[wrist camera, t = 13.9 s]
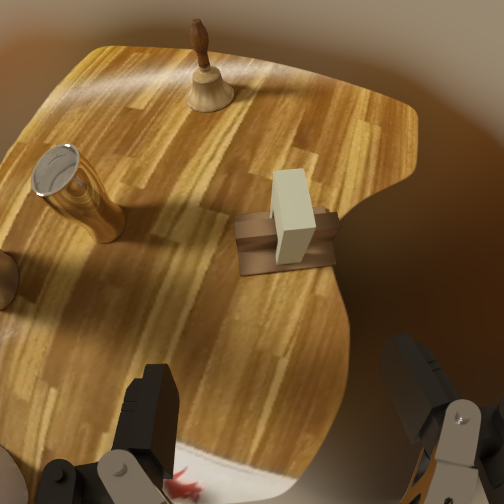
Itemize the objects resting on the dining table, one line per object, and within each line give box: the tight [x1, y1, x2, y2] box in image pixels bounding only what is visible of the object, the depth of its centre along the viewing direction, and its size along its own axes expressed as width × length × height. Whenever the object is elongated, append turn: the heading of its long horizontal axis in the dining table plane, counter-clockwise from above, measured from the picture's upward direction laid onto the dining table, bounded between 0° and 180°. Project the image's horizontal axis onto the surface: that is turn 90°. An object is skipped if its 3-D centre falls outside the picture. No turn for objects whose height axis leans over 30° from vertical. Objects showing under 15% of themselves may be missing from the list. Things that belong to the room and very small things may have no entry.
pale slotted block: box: [270, 168, 316, 265], centre depth 35 cm, size 6×3×11 cm, turn 7°
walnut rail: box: [234, 206, 340, 276], centre depth 38 cm, size 12×8×5 cm, turn 96°
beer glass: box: [31, 143, 126, 243], centre depth 35 cm, size 7×7×15 cm
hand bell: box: [186, 19, 234, 112], centre depth 42 cm, size 8×8×16 cm
